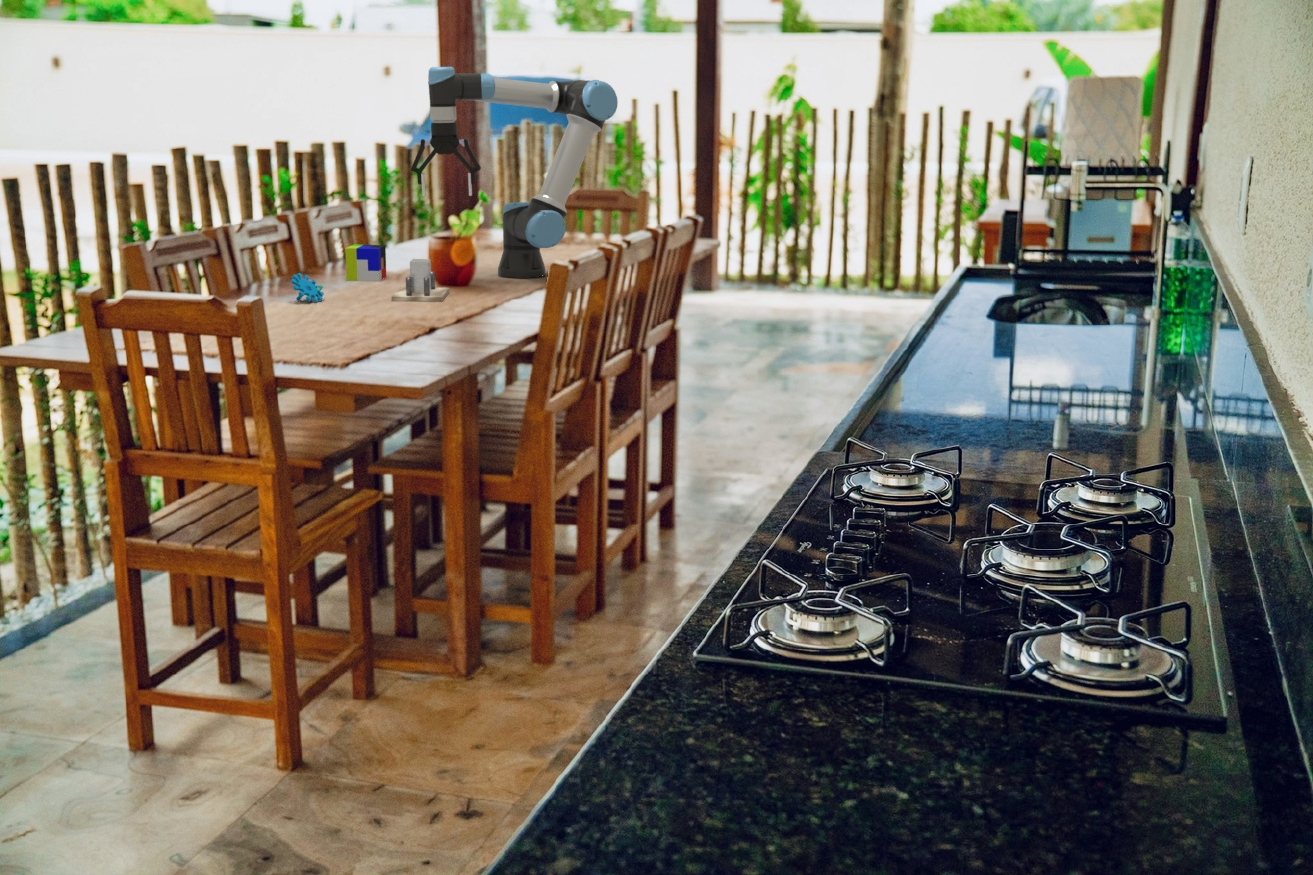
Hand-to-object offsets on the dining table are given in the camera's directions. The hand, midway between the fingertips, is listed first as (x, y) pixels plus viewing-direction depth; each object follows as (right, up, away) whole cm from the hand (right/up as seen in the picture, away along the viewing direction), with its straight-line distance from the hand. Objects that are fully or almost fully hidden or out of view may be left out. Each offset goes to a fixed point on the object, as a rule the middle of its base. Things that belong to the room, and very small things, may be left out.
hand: (447, 195), depth 390 cm
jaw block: (-5, -30, -13) cm, 33 cm away
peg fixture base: (-5, -31, -13) cm, 34 cm away
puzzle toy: (-28, -23, +18) cm, 40 cm away
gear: (-34, -34, -25) cm, 54 cm away
